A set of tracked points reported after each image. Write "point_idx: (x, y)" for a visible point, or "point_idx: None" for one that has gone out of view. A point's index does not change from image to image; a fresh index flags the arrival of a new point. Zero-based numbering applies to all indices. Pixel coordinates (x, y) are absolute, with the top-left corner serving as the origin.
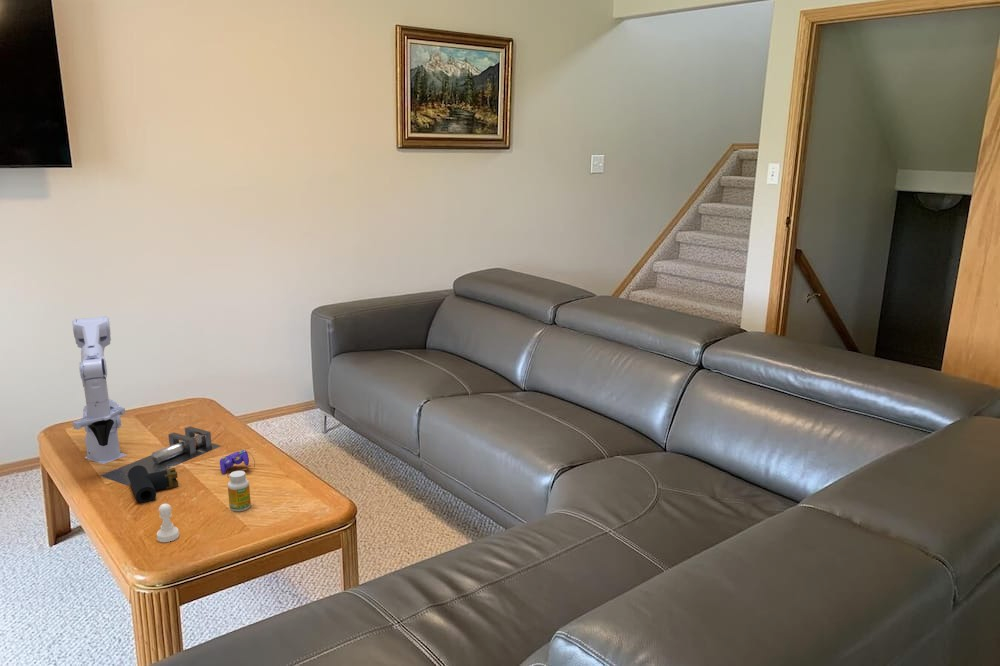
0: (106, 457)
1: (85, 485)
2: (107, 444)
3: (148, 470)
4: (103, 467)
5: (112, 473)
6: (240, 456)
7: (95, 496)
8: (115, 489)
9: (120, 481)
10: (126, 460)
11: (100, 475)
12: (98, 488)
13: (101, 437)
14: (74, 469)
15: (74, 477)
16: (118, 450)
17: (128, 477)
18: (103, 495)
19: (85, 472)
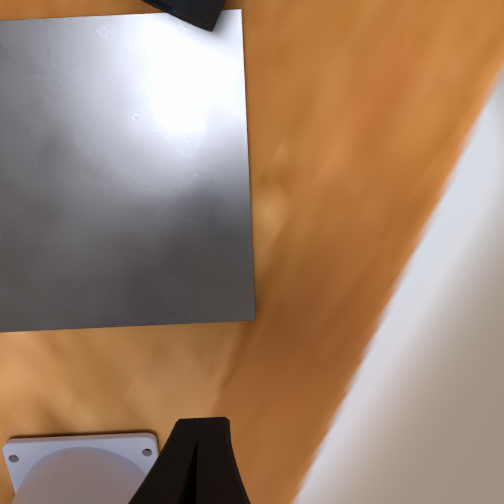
0: (114, 472)
1: (364, 282)
2: (179, 419)
3: (9, 130)
4: (167, 411)
5: (190, 288)
6: None
7: (442, 78)
8: (307, 63)
9: (229, 130)
10: (34, 397)
11: (249, 318)
12: (354, 178)
13: (247, 498)
14: (269, 494)
15: (328, 416)
16: (27, 488)
17: (223, 3)
18: (408, 43)
19: (260, 427)
